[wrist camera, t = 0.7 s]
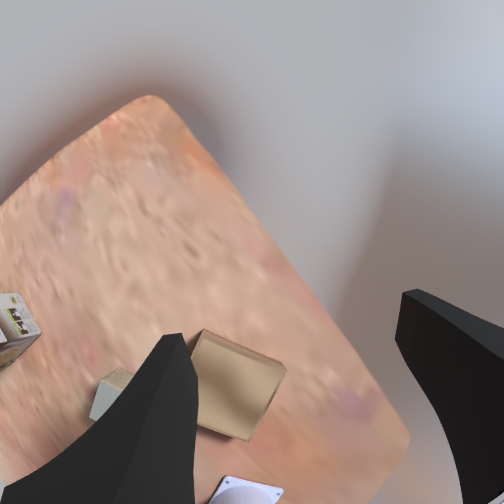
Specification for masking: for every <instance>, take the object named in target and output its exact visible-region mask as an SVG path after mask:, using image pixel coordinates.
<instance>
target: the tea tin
mask: <svg viewBox="0 0 504 504" xmlns="http://www.w3.org/2000/svg"><path fill="white" fill-rule="evenodd" d="M133 377H134V374H132V373H131V372H129V371H127V370H125V369H123V368H121V367H119V368H118V369H117V370H116V371H114V372H113V373H112V374H110V375H109V376H108V377H107V378H105V379H102V380H100V383H99V386H98V389H97V392H96V396H95V399H94V402H93V405H92V409H91V412H90V415H89V418H91V419H93V420H94V421H97V420H98V419H99V418H100V417H101V416H102V415H103V414H104V413H105V412H106V411H107V409H108V408H109V407H110V406H111V405H112V404H113V402H114V401H115V400H116V399H117V397H118V396H119V395H120V394H121V392H122V391H123V390H124V389H125V387H126V386H127V385H128V383H129V382H130V381H131V379H132V378H133Z"/></svg>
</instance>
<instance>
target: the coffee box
mask: <svg viewBox="0 0 504 504" xmlns="http://www.w3.org/2000/svg"><path fill="white" fill-rule="evenodd" d="M40 335H41V330H40V329H39V327H38V325H37V324H36V322H35V320H34V318H33V317H32V315H31V313H30V311H29V309H28V308H27V306H26V304H25V302H24V300H23V298H22V296H21V295H20V294H19V293H0V368H2V367H5V366H8V365H10V364H11V363H12V362H13V361H14V360H15V359H16V358H17V357H18V356H19V355H20V354H21V353H22V352H23V351H24V350H25V349H26V348H27V347H28V346H29V345H30V344H31V343H32V342H33V341H34V340H36V339H37V338H38V337H39V336H40Z"/></svg>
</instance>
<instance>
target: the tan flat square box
mask: <svg viewBox="0 0 504 504" xmlns="http://www.w3.org/2000/svg"><path fill="white" fill-rule="evenodd" d="M190 358H191V360H192V363H193V366H194V368H195V371H196V374H197V376H198V394H199V407H198V419H197V424H198V425H201V426H203V427H206V428H208V429H211V430H214V431H216V432H219V433H222V434H225V435H227V436H230V437H233V438H236V439H239V440H242V441H245V442H248V443H249V441H250V440H251V438H252V436H253V434H254V433H255V431H256V429H257V427H258V425H259V424H260V422H261V420H262V418H263V416H264V414H265V412H266V411H267V409H268V407H269V405H270V403H271V401H272V399H273V397H274V395H275V393H276V391H277V390H278V388H279V386H280V384H281V382H282V380H283V378H284V376H285V374H286V372H287V369H286V368H285V367H284V366H283V364H282V363H281V362H280V361H278V360H275V359H273V358H270V357H268V356H265V355H263V354H260V353H258V352H256V351H253V350H251V349H248V348H246V347H244V346H241V345H239V344H237V343H234V342H232V341H230V340H228V339H225V338H223V337H221V336H219V335H216V334H214V333H212V332H210V331H208V330H206V329H203V331H202V333H201V335H200V337H199V340H198V342H197V344H196V346H195V348H194V351H193V353H192V355H191V357H190Z"/></svg>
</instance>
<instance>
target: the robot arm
mask: <svg viewBox="0 0 504 504" xmlns="http://www.w3.org/2000/svg"><path fill="white" fill-rule="evenodd" d="M395 341H396V343H397V345H398V347H399V350H400V351H401V354H402V356H403V358H404V360H405V362H406V364H407V366H408V367H409V369H410V370H411V372H412V374H413V375H414V377H415V378H416V380H417V382H418V383H419V385H420V387H421V388H422V390H423V391H424V393H425V394H426V396H427V398H428V399H429V401H430V403H431V404H432V406H433V408H434V410H435V411H436V413H437V415H438V417H439V420H440V422H441V424H442V427H443V429H444V431H445V434H446V437H447V439H448V442H449V445H450V448H451V451H452V454H453V457H454V460H455V464H456V468H457V471H458V476H459V481H460V486H461V492H462V498H463V504H488V503H490V502H491V501H492V500H494V499H495V498H497V497H498V496H499V495H501V494H502V493H503V492H504V328H502V327H499V326H497V325H494V324H492V323H490V322H488V321H485V320H483V319H480V318H479V317H476V316H474V315H472V314H470V313H468V312H466V311H464V310H462V309H460V308H458V307H456V306H454V305H452V304H450V303H448V302H446V301H444V300H442V299H440V298H438V297H436V296H433V295H431V294H429V293H427V292H424V291H422V290H419V289H414V290H410V291H406V292H403V293H402V300H401V306H400V312H399V318H398V324H397V330H396V335H395ZM198 407H199V394H198V376H197V374H196V371H195V368H194V366H193V363H192V360H191V358H190V355H189V352H188V350H187V347H186V344H185V341H184V338H183V336H182V333H177V334H168V335H163V336H162V337H161V339H160V340H159V341H158V343H157V344H156V346H155V347H154V348H153V350H152V351H151V353H150V354H149V356H148V357H147V358H146V360H145V361H144V363H143V364H142V366H141V367H140V368H139V370H138V371H137V372H136V374H135V375H134V377H133V378H132V379H131V381H130V382H129V383H128V385H127V386H126V387H125V389H124V390H123V391H122V392H121V394H120V395H119V396H118V397H117V399H116V400H115V401H114V402H113V404H112V405H111V406H110V407H109V408H108V409H107V411H106V412H105V413H104V414H103V415H102V416H101V417H100V418H99V419H98V420H97V421H96V422H95V423H94V424H93V425H92V426H91V427H90V428H89V429H88V430H87V431H86V432H85V433H84V434H83V435H82V436H81V437H79V438H78V439H77V440H76V441H75V442H74V443H72V444H71V445H70V446H69V447H68V448H67V449H66V450H64V451H63V452H62V453H61V454H59V455H58V456H57V457H55V458H54V459H52V460H51V461H50V462H48V463H47V464H45V465H44V466H42V467H41V468H39V469H38V470H36V471H34V472H33V473H31V474H29V475H27V476H26V477H24V478H22V479H20V480H18V481H16V482H14V483H12V484H10V485H8V486H6V487H5V488H4V491H3V494H2V498H1V501H0V504H195V496H194V478H193V467H194V452H195V440H196V430H197V419H198ZM225 481H228V482H225ZM283 492H284V491H283V489H282V488H278V487H273V486H268V485H264V484H259V483H255V482H251V481H247V480H243V479H239V478H235V477H232V476H225V477H224V479H223V481H222V482H221V484H220V486H219V487H218V489H217V491H216V492H215V494H214V496H213V497H212V499H211V501H210V502H209V504H275V503H276V502H277V501H278V499H279V498H280V496H281V495H282V493H283ZM277 493H279V494H277ZM500 504H504V500H503V501H502V502H501V503H500Z"/></svg>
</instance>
